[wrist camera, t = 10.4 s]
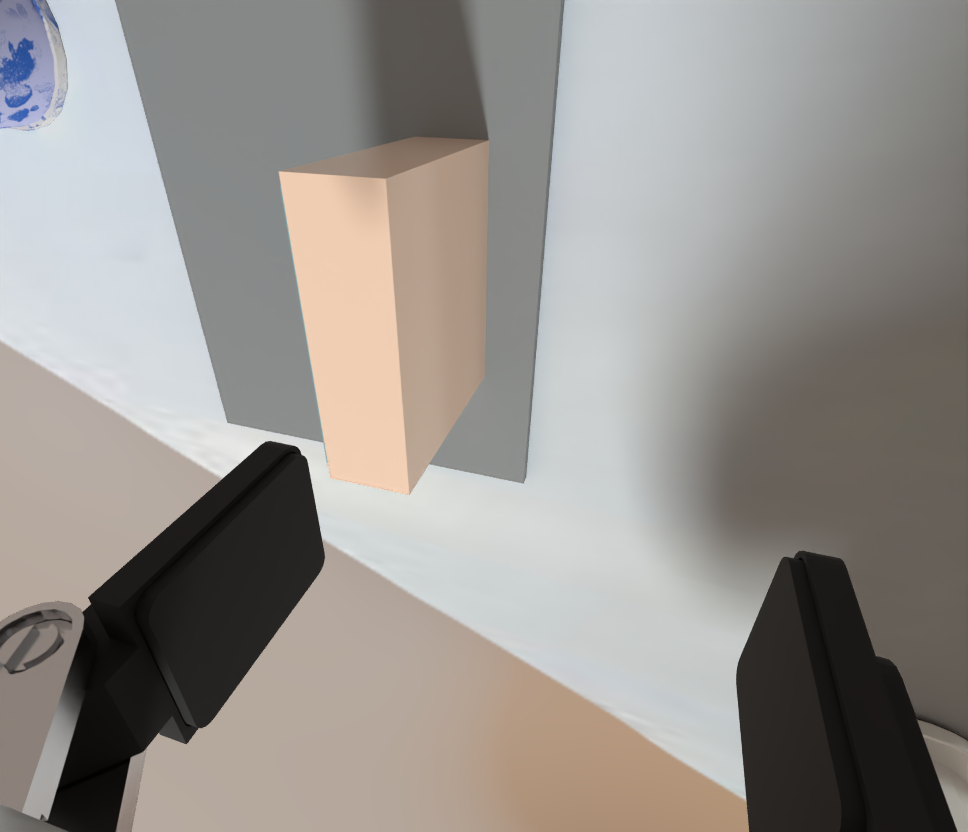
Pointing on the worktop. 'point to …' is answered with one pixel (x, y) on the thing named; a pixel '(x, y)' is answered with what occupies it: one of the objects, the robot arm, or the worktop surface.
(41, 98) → the aerosol can
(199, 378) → the worktop surface
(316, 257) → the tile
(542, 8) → the mat
